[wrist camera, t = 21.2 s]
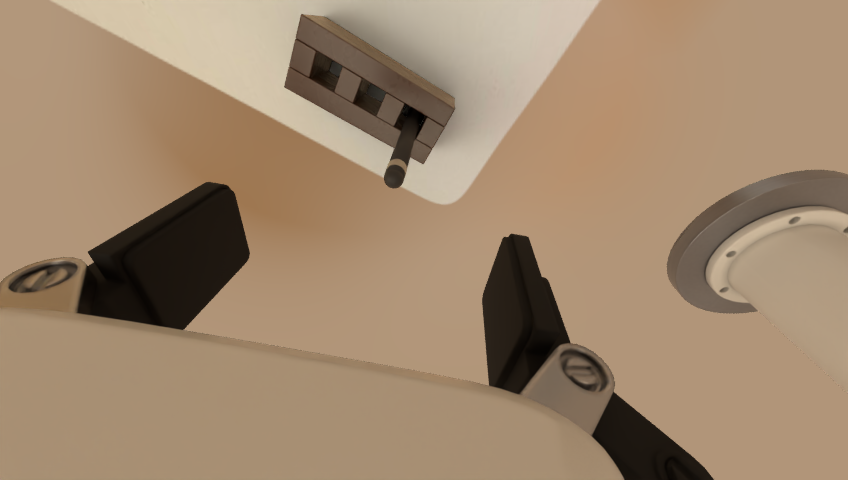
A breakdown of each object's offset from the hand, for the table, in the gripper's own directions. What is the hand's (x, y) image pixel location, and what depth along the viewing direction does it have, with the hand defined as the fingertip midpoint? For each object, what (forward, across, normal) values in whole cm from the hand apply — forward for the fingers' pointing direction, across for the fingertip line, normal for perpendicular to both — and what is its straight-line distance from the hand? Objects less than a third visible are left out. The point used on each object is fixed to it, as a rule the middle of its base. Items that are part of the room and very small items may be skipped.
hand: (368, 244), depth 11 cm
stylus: (+21, +1, 0) cm, 21 cm away
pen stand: (+21, +4, -2) cm, 21 cm away
